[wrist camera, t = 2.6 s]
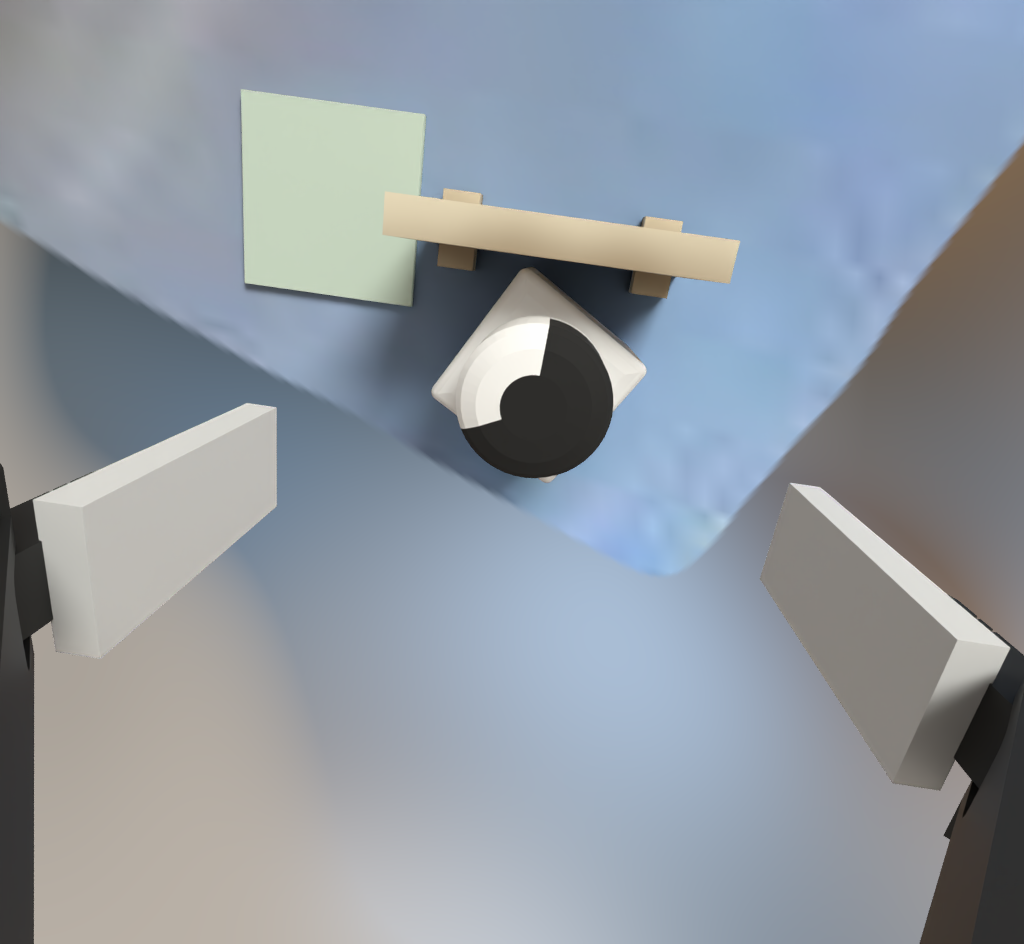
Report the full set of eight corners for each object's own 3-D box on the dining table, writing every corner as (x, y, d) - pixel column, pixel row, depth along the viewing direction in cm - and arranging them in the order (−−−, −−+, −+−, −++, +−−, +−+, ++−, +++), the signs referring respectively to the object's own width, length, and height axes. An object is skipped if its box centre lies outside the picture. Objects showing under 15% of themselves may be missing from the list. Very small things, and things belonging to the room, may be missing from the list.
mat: (244, 91, 32) (240, 89, 32) (426, 116, 32) (424, 114, 32) (248, 282, 36) (244, 282, 35) (412, 306, 36) (410, 306, 35)
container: (631, 348, 36) (671, 394, 23) (549, 444, 38) (546, 532, 26) (530, 263, 34) (517, 265, 22) (451, 368, 37) (400, 422, 24)
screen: (438, 189, 33) (386, 157, 23) (687, 224, 33) (748, 207, 23) (432, 264, 35) (380, 266, 24) (671, 298, 34) (721, 314, 24)
